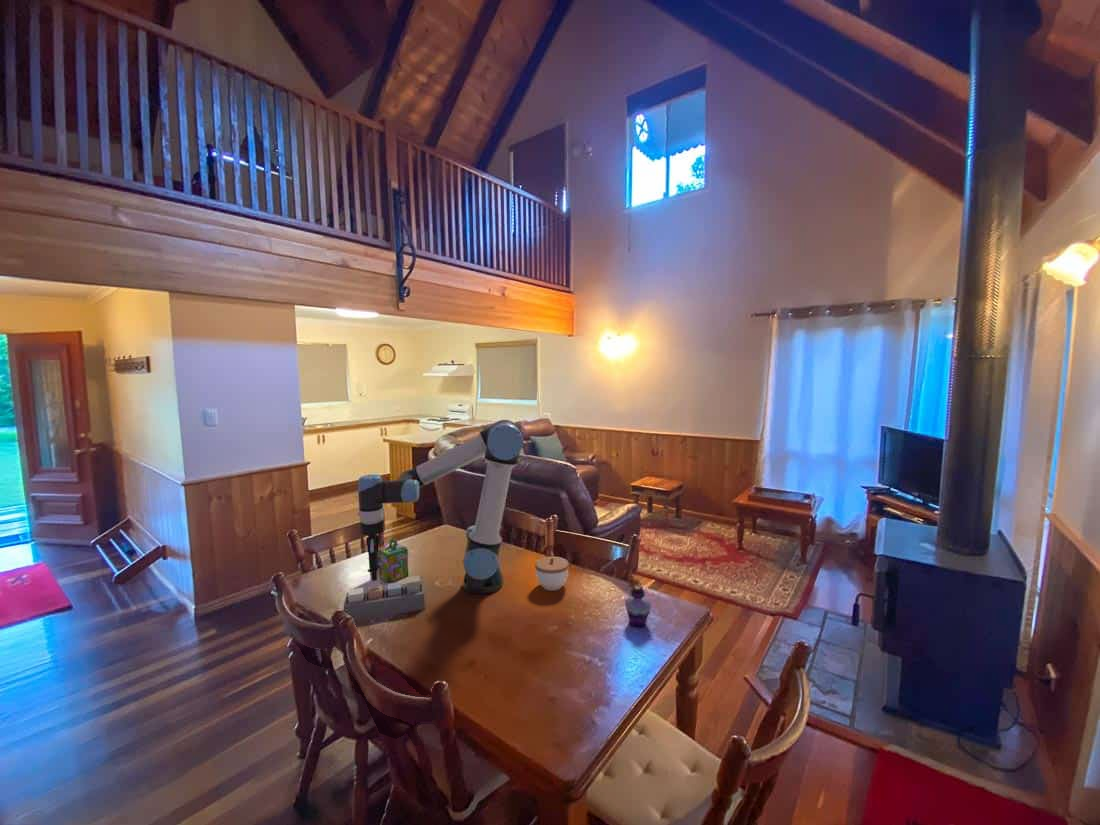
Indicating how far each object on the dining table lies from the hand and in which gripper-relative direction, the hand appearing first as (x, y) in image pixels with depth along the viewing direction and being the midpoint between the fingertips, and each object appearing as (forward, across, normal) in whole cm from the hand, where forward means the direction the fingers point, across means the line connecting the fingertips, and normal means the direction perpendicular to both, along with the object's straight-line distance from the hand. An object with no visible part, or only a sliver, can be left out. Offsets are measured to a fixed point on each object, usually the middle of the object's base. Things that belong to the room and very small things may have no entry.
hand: (375, 587), depth 156 cm
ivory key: (+6, 0, -6) cm, 8 cm away
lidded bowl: (+8, +4, +62) cm, 63 cm away
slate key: (+6, 0, +6) cm, 8 cm away
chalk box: (+8, -26, +5) cm, 27 cm away
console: (+8, 0, +3) cm, 9 cm away
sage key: (+4, 0, +12) cm, 13 cm away
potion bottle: (+8, +37, +80) cm, 89 cm away
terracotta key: (+6, 0, 0) cm, 6 cm away
